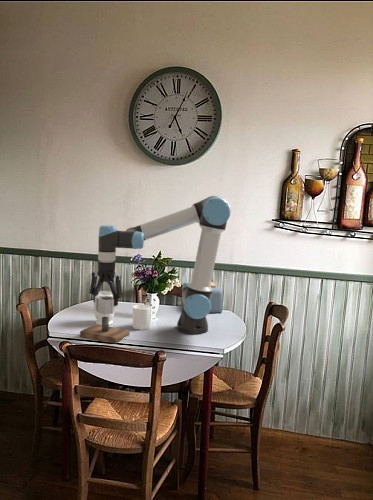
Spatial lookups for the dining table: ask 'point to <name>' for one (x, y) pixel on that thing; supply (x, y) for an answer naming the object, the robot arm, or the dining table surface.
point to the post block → (104, 332)
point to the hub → (104, 304)
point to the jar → (100, 315)
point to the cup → (141, 317)
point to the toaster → (216, 299)
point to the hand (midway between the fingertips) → (105, 311)
